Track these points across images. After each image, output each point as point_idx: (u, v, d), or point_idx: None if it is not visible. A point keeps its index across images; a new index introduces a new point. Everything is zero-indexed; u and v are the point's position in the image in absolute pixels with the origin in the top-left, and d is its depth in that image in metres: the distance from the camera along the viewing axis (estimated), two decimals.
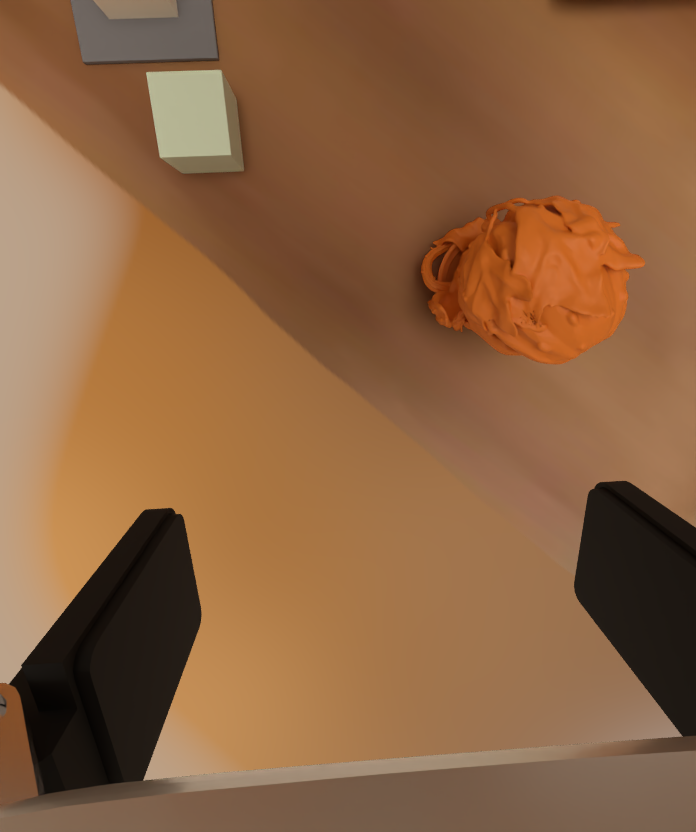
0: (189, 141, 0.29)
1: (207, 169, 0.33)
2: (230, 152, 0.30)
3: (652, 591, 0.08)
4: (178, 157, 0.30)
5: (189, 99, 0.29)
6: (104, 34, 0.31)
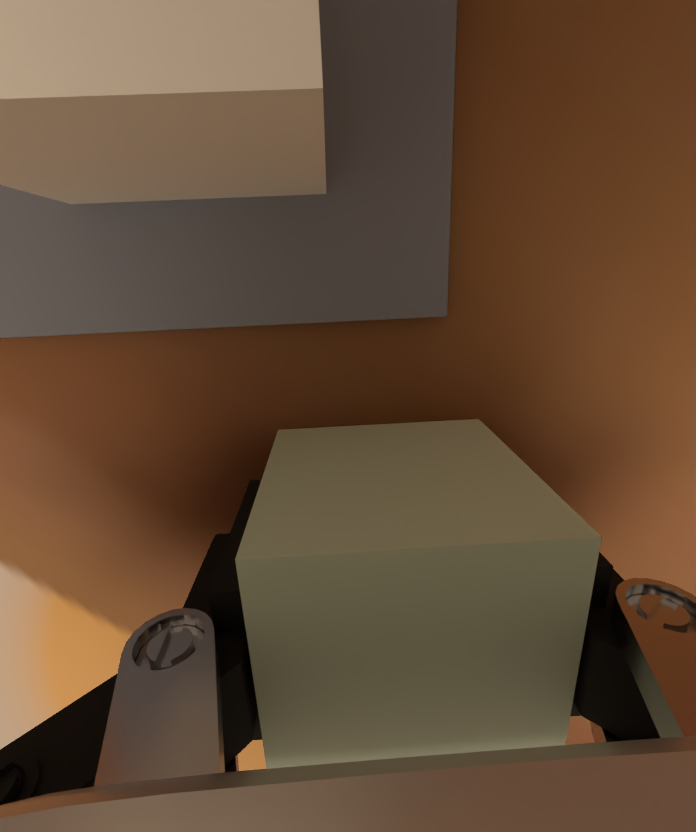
0: (401, 757, 0.07)
1: None
2: None
3: None
4: None
5: (427, 640, 0.06)
6: (54, 255, 0.09)
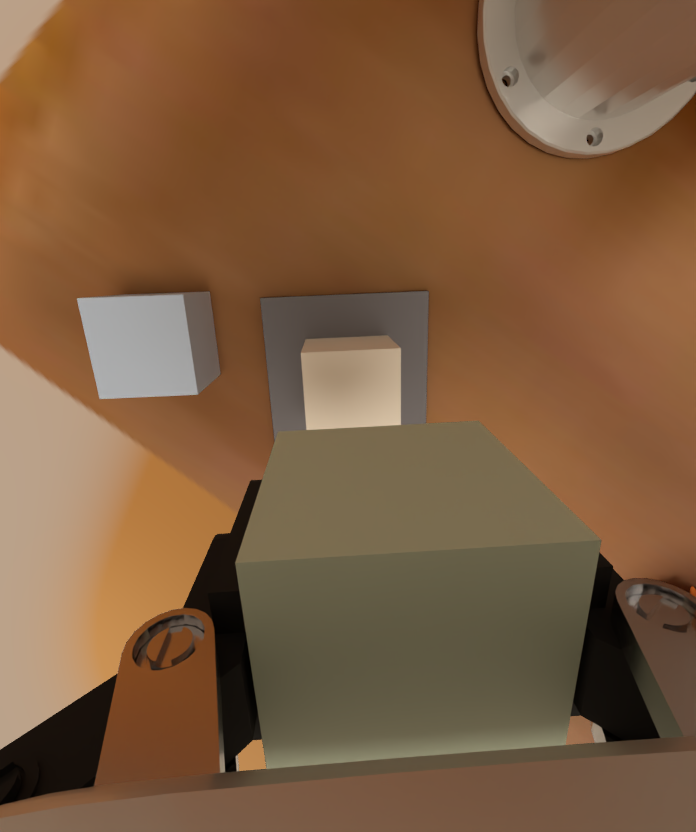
0: None
1: None
2: None
3: None
4: None
5: (426, 643, 0.06)
6: None
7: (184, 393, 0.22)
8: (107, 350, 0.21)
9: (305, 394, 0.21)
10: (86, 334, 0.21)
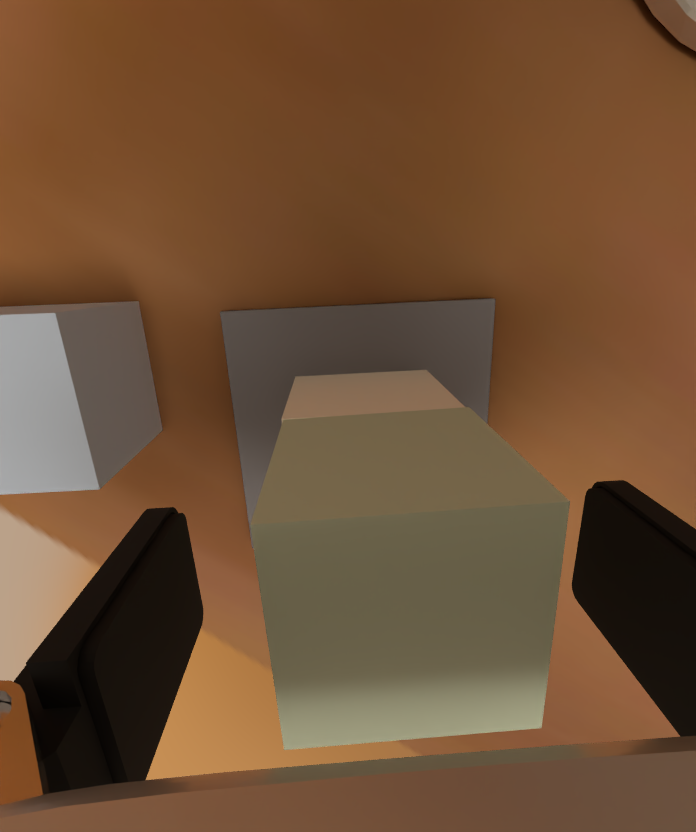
0: (398, 706, 0.08)
1: None
2: (538, 717, 0.08)
3: (649, 590, 0.08)
4: None
5: (418, 597, 0.07)
6: None
7: (75, 487, 0.12)
8: None
9: None
10: None
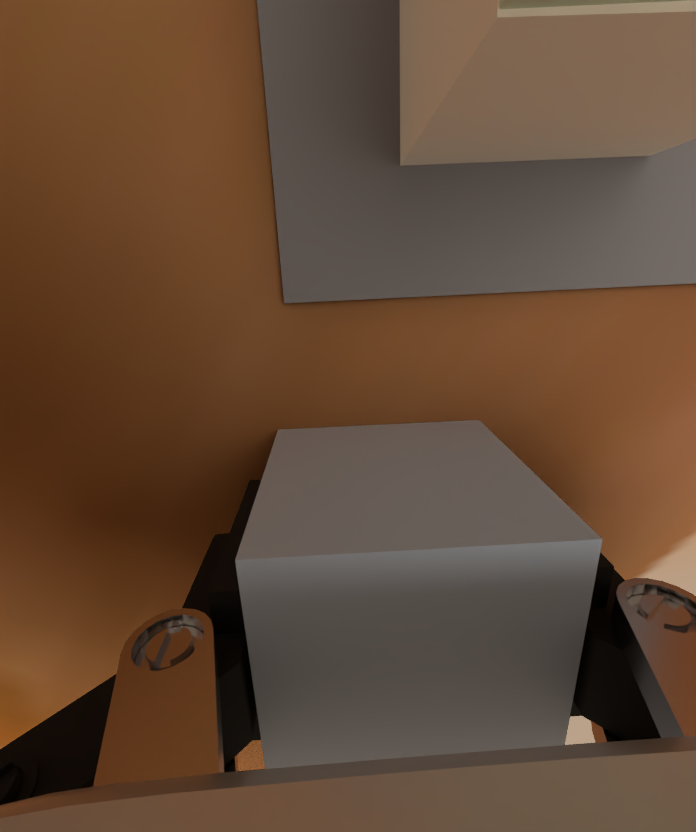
0: None
1: None
2: None
3: None
4: None
5: None
6: (688, 185, 0.09)
7: (588, 580, 0.06)
8: None
9: None
10: None
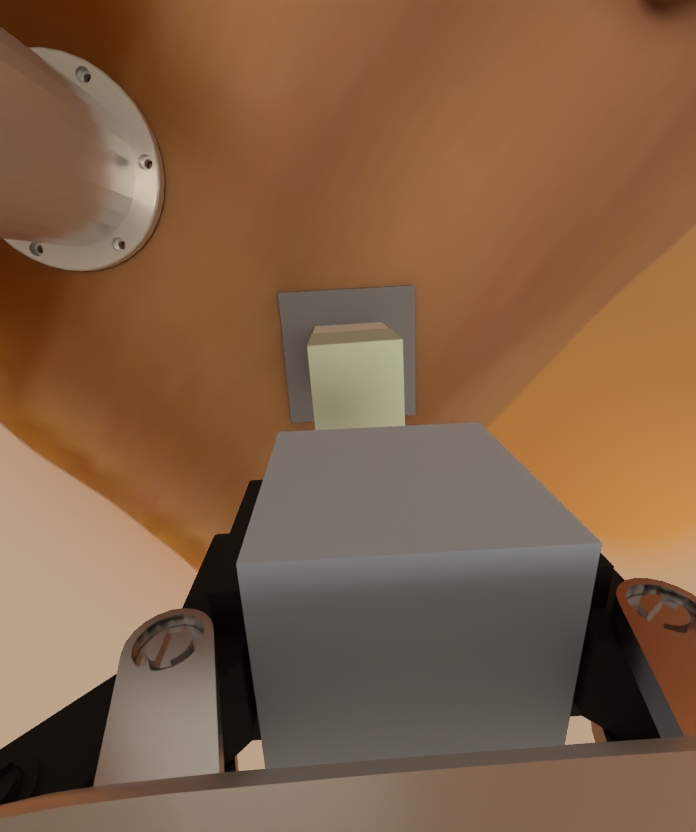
0: (387, 391, 0.23)
1: None
2: (399, 339, 0.22)
3: None
4: (404, 406, 0.23)
5: (341, 388, 0.23)
6: None
7: (587, 583, 0.06)
8: None
9: None
10: None
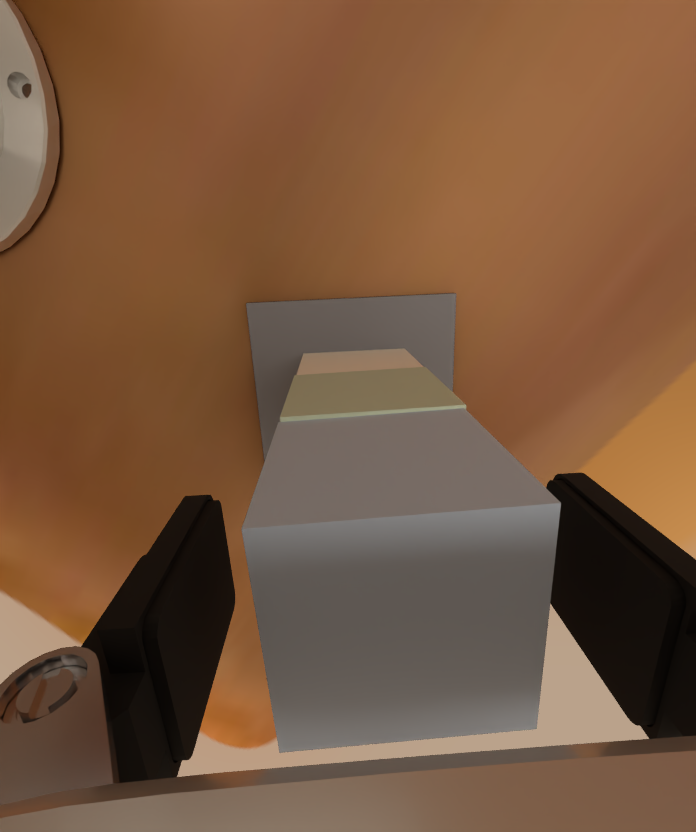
0: None
1: None
2: (458, 405, 0.11)
3: (598, 575, 0.08)
4: None
5: None
6: None
7: (551, 540, 0.07)
8: (409, 706, 0.08)
9: None
10: (368, 742, 0.08)
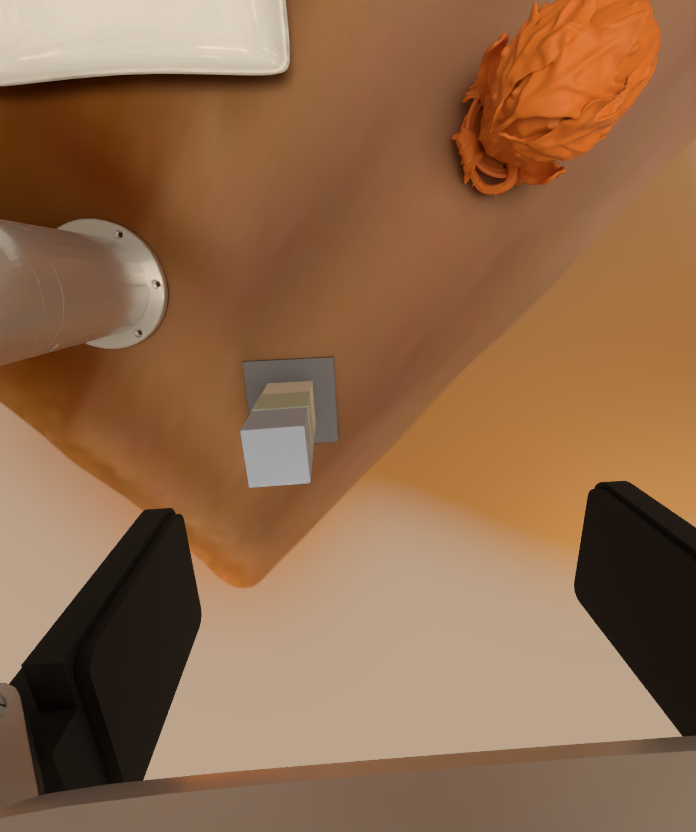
0: None
1: None
2: (305, 406, 0.38)
3: (652, 591, 0.08)
4: (311, 444, 0.39)
5: None
6: (323, 426, 0.49)
7: (303, 433, 0.33)
8: (278, 475, 0.34)
9: None
10: (270, 485, 0.34)
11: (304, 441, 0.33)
